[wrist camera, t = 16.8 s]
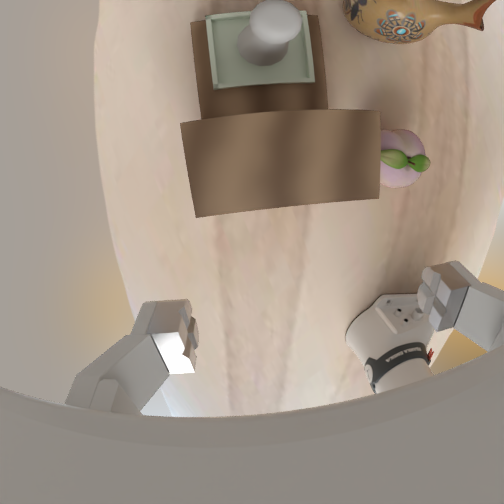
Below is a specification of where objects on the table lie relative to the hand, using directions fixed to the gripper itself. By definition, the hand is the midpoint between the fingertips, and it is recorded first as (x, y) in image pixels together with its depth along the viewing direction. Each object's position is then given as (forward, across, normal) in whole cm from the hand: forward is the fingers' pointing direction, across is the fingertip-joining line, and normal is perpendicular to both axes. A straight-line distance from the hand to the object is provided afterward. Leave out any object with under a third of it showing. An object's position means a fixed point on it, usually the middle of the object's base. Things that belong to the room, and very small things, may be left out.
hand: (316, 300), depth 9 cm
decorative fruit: (+33, -18, +1) cm, 38 cm away
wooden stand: (+32, -1, -8) cm, 33 cm away
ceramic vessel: (+33, -18, -20) cm, 42 cm away
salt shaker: (+29, -2, -14) cm, 32 cm away
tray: (+29, -2, -14) cm, 32 cm away
